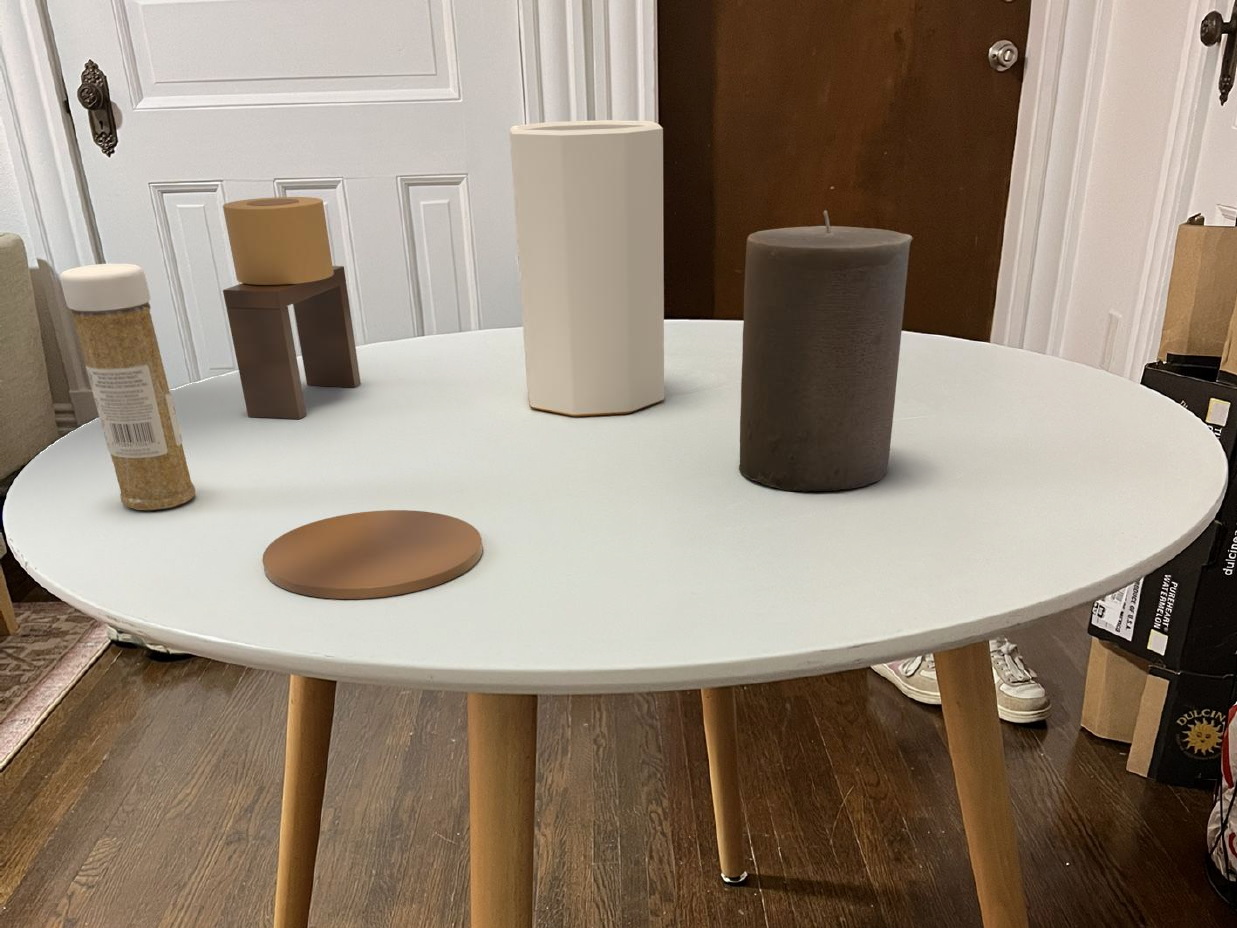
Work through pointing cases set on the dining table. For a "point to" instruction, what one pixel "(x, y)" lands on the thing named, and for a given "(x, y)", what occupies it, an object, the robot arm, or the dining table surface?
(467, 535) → the cork mat
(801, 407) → the pillar candle
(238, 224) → the tape roll
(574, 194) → the cream faceted vase
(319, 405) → the dining table surface
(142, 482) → the spice jar
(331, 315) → the brown arch block
